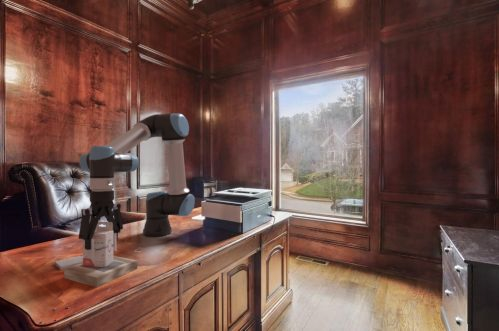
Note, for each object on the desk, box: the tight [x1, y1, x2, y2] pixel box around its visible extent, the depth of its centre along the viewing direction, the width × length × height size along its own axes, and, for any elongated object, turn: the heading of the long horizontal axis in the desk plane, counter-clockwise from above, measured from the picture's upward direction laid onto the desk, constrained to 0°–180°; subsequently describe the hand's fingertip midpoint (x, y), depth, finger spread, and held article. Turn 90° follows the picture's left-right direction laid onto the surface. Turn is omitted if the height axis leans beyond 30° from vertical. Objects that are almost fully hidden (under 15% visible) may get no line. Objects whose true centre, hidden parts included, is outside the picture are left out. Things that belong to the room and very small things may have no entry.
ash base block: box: [63, 255, 138, 288], centre depth 93 cm, size 16×16×3 cm
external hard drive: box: [54, 254, 83, 271], centre depth 104 cm, size 2×8×12 cm
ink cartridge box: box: [82, 221, 114, 267], centre depth 93 cm, size 9×5×15 cm, turn 85°
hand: (102, 254), depth 93 cm, fingers open, 8 cm apart
